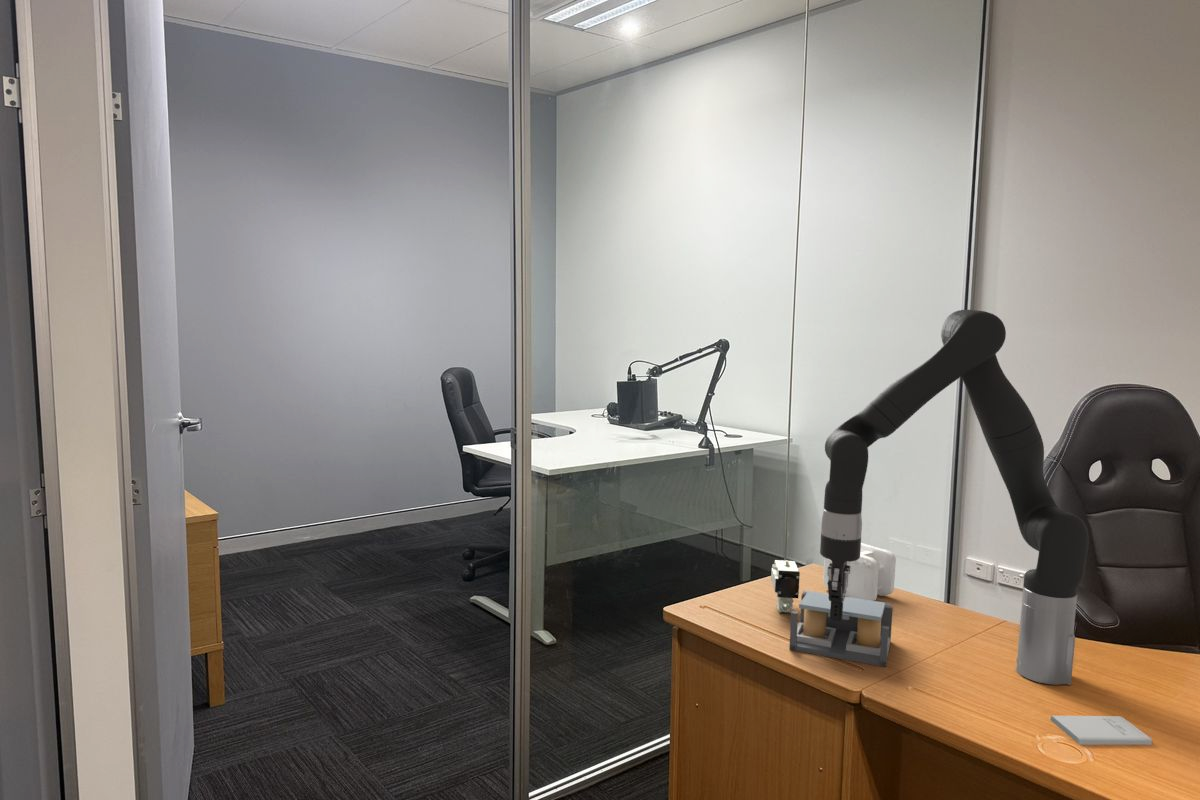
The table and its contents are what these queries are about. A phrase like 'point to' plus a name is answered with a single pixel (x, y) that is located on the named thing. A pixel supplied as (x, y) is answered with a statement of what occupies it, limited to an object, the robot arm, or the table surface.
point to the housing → (838, 636)
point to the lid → (844, 606)
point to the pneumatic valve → (785, 583)
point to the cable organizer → (869, 573)
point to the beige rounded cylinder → (868, 632)
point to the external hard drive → (1101, 730)
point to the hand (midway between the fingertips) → (836, 618)
